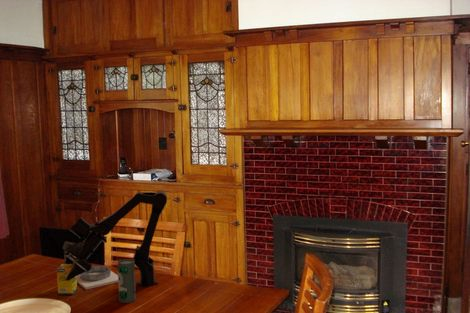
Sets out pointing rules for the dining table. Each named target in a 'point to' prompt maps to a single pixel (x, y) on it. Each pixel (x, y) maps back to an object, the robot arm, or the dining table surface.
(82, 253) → the robot arm
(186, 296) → the dining table surface
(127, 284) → the can
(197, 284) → the dining table surface
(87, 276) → the metal duct collar
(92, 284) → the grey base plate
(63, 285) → the supplement box
